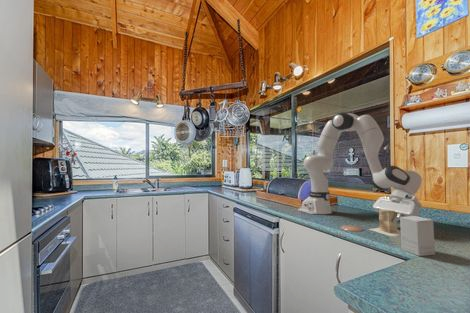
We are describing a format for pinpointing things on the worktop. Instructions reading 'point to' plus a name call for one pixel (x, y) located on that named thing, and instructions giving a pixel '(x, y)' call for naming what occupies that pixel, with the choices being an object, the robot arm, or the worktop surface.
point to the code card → (386, 232)
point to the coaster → (352, 228)
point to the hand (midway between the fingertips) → (386, 220)
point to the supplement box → (417, 235)
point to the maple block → (387, 221)
